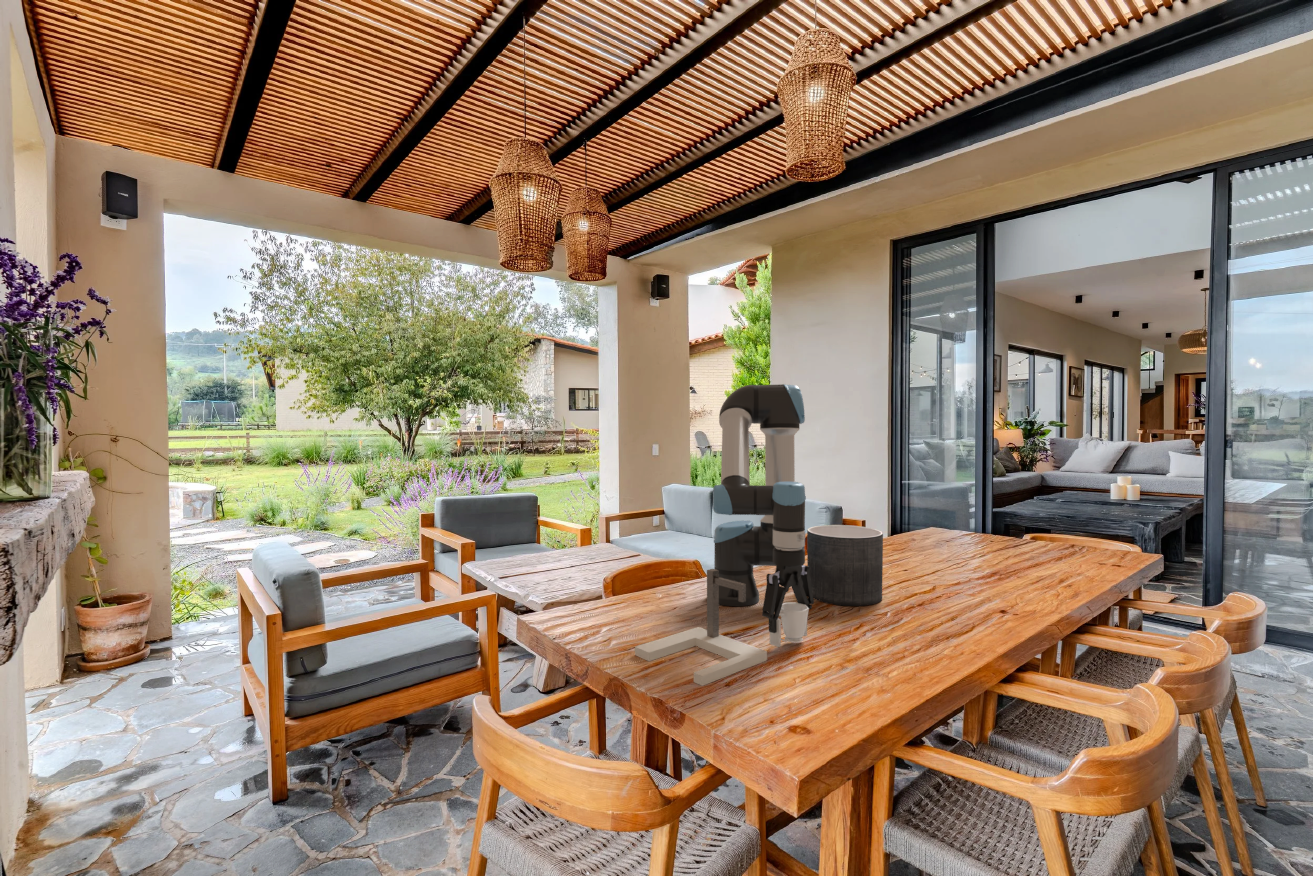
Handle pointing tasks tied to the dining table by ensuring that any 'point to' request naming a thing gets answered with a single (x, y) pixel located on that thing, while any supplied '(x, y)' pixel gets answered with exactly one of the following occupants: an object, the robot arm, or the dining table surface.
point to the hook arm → (713, 599)
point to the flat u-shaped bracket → (726, 647)
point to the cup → (794, 621)
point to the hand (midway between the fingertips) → (788, 639)
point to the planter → (845, 564)
